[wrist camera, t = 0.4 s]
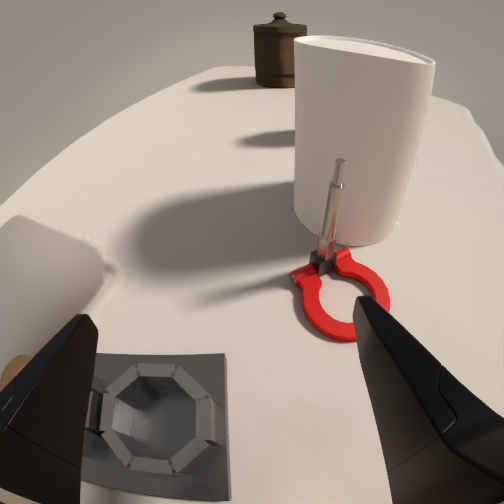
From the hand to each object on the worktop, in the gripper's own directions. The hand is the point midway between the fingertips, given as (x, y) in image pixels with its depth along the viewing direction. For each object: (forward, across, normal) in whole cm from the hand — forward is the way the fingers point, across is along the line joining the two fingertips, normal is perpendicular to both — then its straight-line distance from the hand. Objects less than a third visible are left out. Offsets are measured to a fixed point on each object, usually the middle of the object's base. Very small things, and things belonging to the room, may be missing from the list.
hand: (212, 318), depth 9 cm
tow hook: (+13, -9, +14) cm, 21 cm away
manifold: (+2, +11, +15) cm, 19 cm away
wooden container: (+84, -11, 0) cm, 84 cm away
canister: (+26, -12, +11) cm, 31 cm away
